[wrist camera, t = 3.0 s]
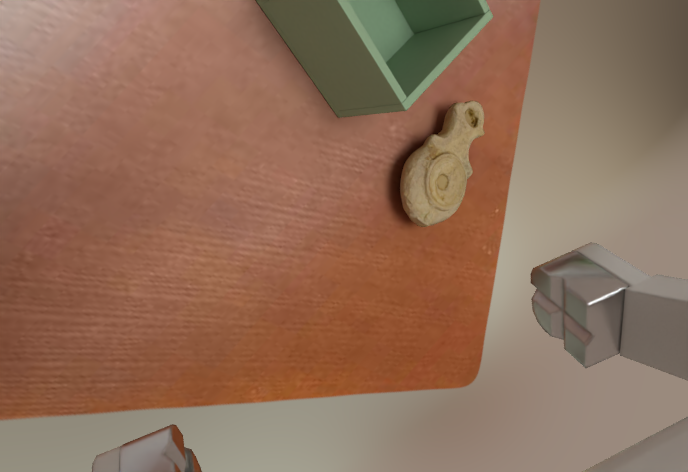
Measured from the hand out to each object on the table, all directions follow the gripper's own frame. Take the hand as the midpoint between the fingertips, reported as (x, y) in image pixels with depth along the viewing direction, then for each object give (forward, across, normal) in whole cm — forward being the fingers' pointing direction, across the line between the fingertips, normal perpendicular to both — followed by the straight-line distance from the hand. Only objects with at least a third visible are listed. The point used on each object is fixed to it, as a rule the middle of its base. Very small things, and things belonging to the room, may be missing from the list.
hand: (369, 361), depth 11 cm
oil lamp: (+44, -21, +19) cm, 52 cm away
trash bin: (+46, -16, +2) cm, 48 cm away
